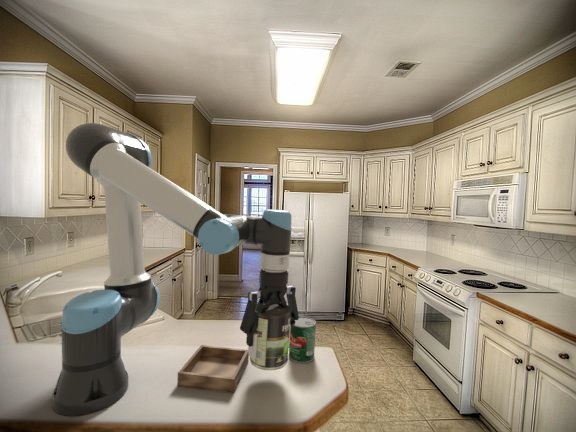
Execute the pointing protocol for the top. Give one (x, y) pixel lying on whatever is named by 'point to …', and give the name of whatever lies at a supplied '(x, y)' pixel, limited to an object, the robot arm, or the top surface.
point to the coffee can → (272, 338)
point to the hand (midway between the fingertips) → (269, 351)
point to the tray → (214, 369)
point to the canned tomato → (302, 340)
